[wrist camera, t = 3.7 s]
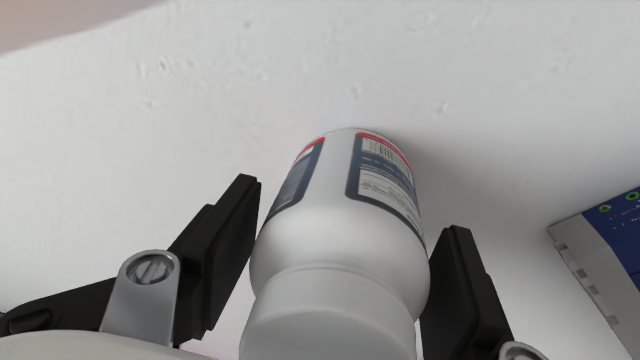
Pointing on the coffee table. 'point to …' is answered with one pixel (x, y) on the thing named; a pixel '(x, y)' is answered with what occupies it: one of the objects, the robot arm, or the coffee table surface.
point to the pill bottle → (340, 257)
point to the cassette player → (607, 261)
